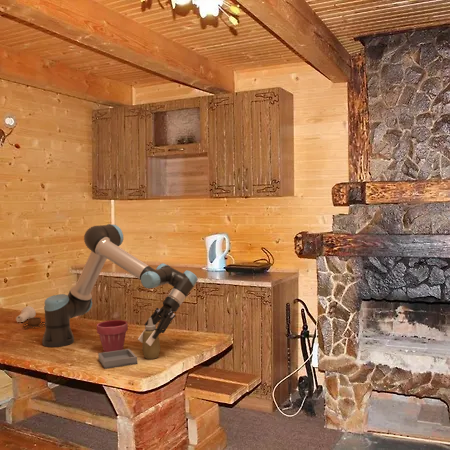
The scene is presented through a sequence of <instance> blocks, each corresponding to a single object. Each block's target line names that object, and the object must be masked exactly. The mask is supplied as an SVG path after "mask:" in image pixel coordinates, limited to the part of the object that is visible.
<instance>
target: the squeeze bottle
mask: <svg viewBox="0 0 450 450" xmlns="http://www.w3.org/2000/svg"><path fill="white" fill-rule="evenodd" d="M148 319H149V320H148ZM148 319H147V320H148V325H146V326H145V325H144V329H145V331H144V330H143V331H144V332H143V331H142V332H143V343H142V346H141V347H142V349H141V350H142V353H143V356H144V358H145V359H147V360H153V359H154V360H155V359H157V358H158V357H159V356H160V355H159V354H160V352H161V343H160V336H159V335H160V334H159V335H158V337H157V338H156V339H155V340H154V342H153V343H152V345H151V346H149V345H148V344H147V343H146V341H147V340H148V338H149V337H150V335H151V334H152V333H153V331H154V330H155V329H157V326H156V325H157V324H156V325H153V321H152V318H151V316H150V317H148ZM155 331H156V330H155Z"/></svg>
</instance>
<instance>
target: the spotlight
mask: <svg viewBox="0 0 450 450" xmlns="http://www.w3.org/2000/svg"><path fill="white" fill-rule="evenodd" d="M36 315H37V313H36V310H35V308H34V307H33V306H30V305H27V306H25V307H23V308H22V309H21V312H20V314H19V315H17V316H16V318H15V320H16V322H17V323H18V322H23V323H24V322H26V321H28V320H27V319H29V318H34V317H36Z"/></svg>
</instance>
